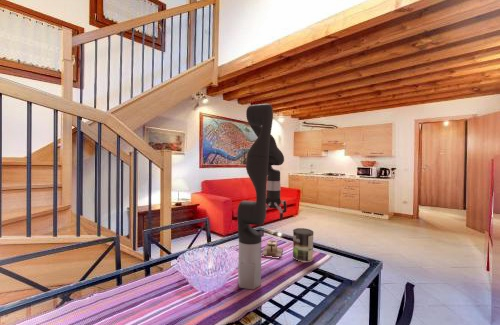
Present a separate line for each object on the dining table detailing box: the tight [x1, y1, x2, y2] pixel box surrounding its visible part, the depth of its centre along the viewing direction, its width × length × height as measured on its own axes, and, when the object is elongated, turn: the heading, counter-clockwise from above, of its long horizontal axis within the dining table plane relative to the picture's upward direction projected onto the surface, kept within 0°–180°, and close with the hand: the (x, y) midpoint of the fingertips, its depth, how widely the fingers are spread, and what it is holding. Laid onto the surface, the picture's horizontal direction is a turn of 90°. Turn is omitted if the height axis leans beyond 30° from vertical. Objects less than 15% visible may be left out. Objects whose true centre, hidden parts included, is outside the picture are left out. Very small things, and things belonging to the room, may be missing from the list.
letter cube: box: [266, 239, 278, 253], centre depth 126 cm, size 5×5×5 cm
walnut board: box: [261, 246, 284, 259], centre depth 126 cm, size 12×10×1 cm
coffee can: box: [292, 227, 314, 263], centre depth 120 cm, size 10×10×14 cm
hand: (272, 219), depth 126 cm, fingers open, 8 cm apart
